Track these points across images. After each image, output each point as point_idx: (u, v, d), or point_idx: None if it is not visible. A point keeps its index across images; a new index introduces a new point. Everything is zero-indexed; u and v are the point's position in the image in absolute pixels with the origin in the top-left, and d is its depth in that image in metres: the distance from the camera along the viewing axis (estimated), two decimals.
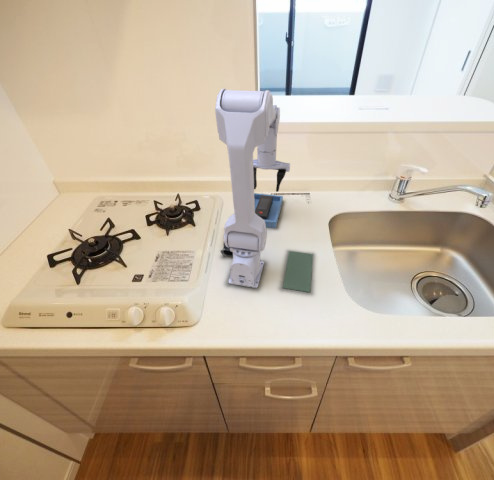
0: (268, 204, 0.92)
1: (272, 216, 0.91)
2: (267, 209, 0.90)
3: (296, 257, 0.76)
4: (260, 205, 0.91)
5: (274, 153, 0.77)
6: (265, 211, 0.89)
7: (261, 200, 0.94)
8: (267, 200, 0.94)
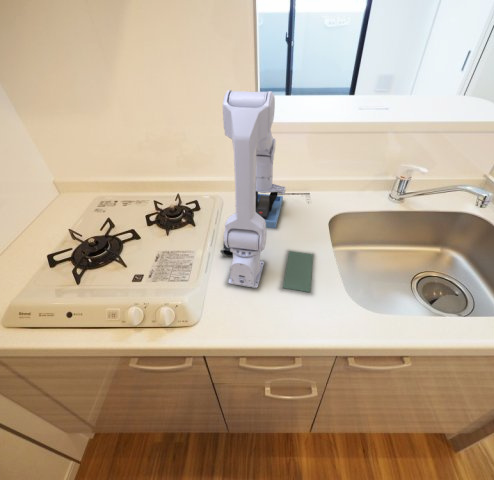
0: (268, 204, 0.92)
1: (272, 216, 0.91)
2: (267, 209, 0.90)
3: (296, 257, 0.76)
4: (260, 205, 0.91)
5: (270, 178, 0.83)
6: (265, 211, 0.89)
7: (261, 200, 0.94)
8: (267, 200, 0.94)
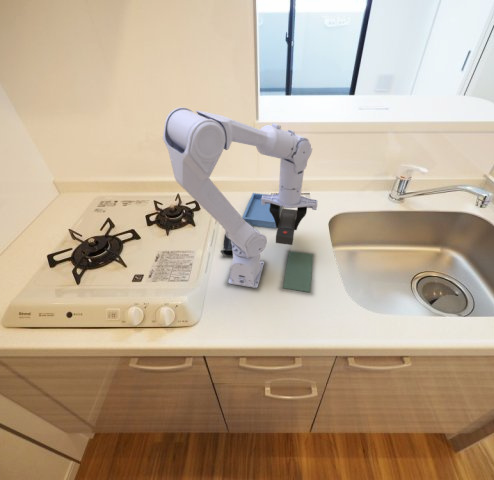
0: (293, 221, 0.73)
1: (272, 216, 0.91)
2: (292, 228, 0.70)
3: (296, 257, 0.76)
4: (283, 222, 0.72)
5: (300, 190, 0.64)
6: (290, 230, 0.70)
7: (283, 215, 0.75)
8: (291, 215, 0.75)
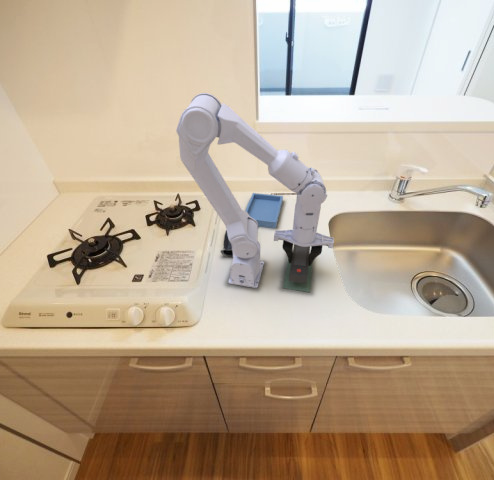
0: (306, 256, 0.69)
1: (272, 216, 0.91)
2: (306, 265, 0.67)
3: None
4: (296, 258, 0.68)
5: (315, 228, 0.60)
6: (304, 268, 0.66)
7: (296, 249, 0.71)
8: (304, 250, 0.71)
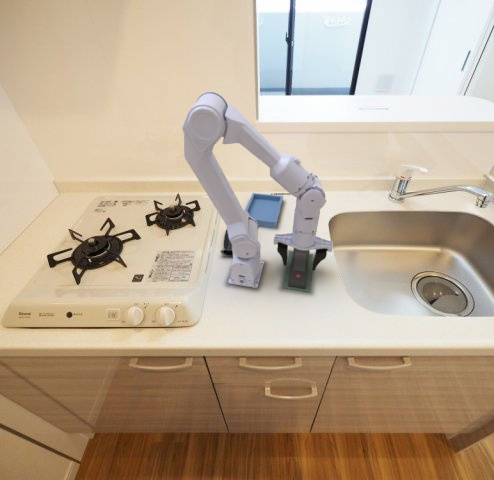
0: (306, 262, 0.70)
1: (272, 216, 0.91)
2: (305, 270, 0.68)
3: None
4: (295, 264, 0.70)
5: (315, 233, 0.61)
6: (303, 274, 0.67)
7: (295, 255, 0.72)
8: (303, 255, 0.72)
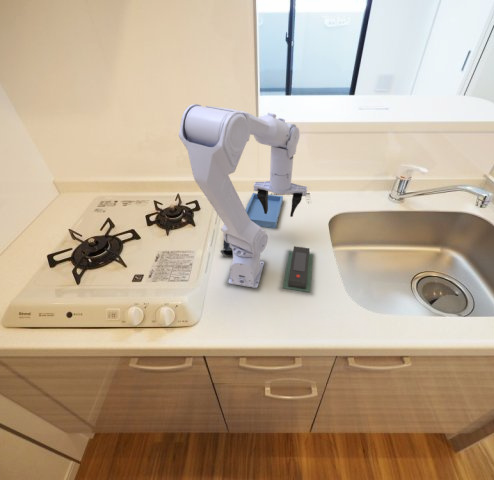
0: (306, 262, 0.70)
1: (272, 216, 0.91)
2: (305, 270, 0.68)
3: None
4: (295, 264, 0.70)
5: (290, 176, 0.67)
6: (303, 274, 0.67)
7: (295, 255, 0.72)
8: (303, 255, 0.72)
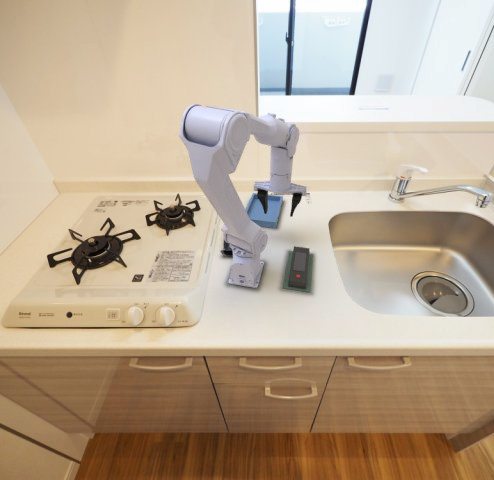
0: (306, 262, 0.70)
1: (272, 216, 0.91)
2: (305, 270, 0.68)
3: None
4: (295, 264, 0.70)
5: (289, 176, 0.67)
6: (303, 274, 0.67)
7: (295, 255, 0.72)
8: (303, 255, 0.72)
